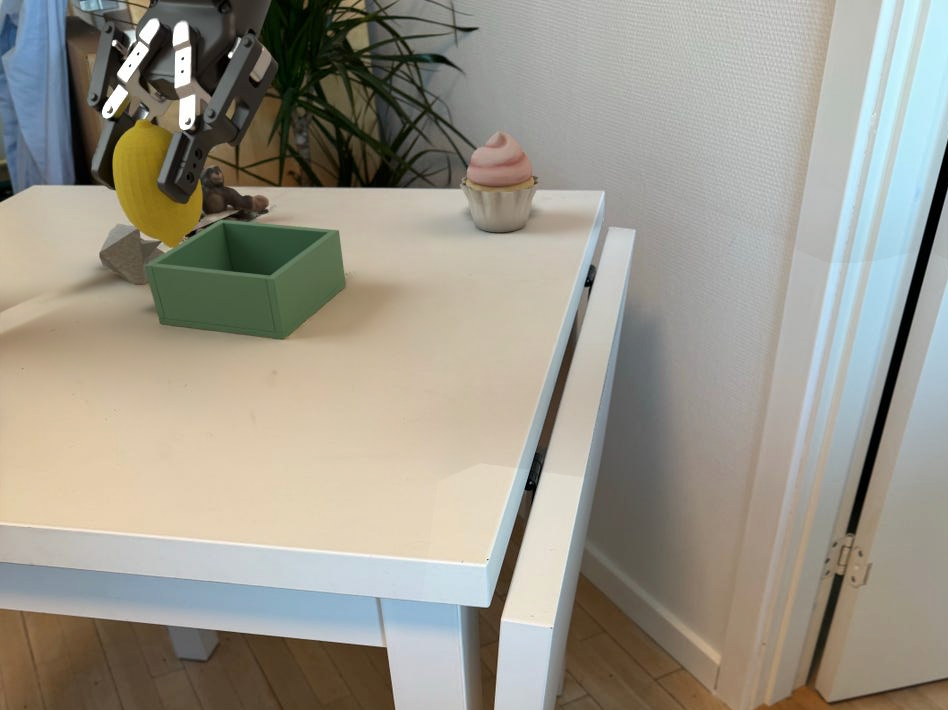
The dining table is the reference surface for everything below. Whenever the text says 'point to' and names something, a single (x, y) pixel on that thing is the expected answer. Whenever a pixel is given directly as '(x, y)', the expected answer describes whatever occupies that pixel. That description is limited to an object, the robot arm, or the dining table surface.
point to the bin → (247, 278)
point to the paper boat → (128, 253)
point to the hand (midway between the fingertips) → (138, 189)
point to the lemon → (151, 185)
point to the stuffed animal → (226, 199)
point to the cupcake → (500, 185)
